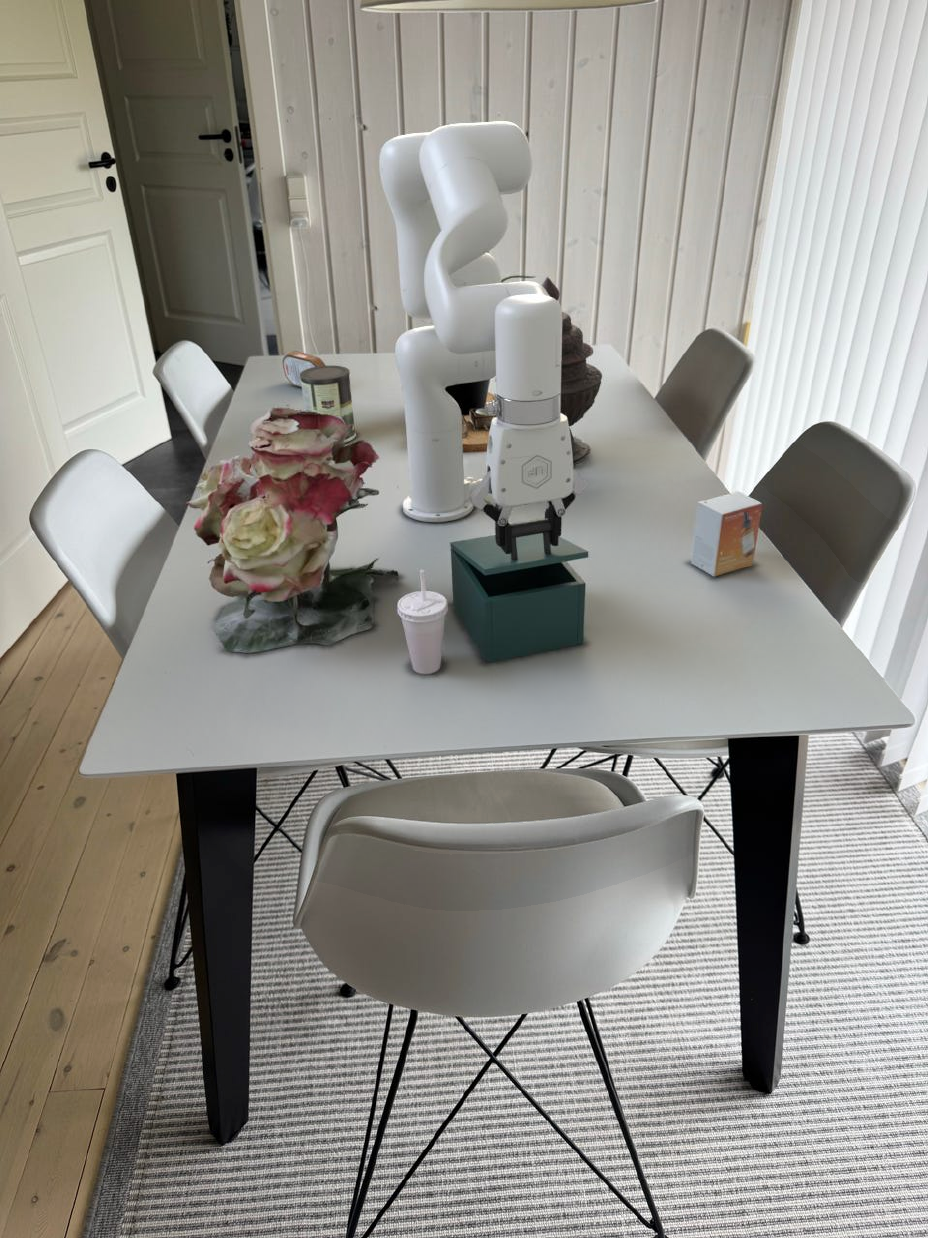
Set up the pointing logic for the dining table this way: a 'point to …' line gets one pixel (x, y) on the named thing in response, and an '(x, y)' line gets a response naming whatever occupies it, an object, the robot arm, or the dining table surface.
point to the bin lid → (518, 549)
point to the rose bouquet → (287, 533)
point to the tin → (299, 365)
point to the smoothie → (423, 627)
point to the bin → (519, 608)
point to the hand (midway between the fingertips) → (528, 544)
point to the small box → (725, 533)
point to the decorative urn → (575, 376)
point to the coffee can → (329, 394)
